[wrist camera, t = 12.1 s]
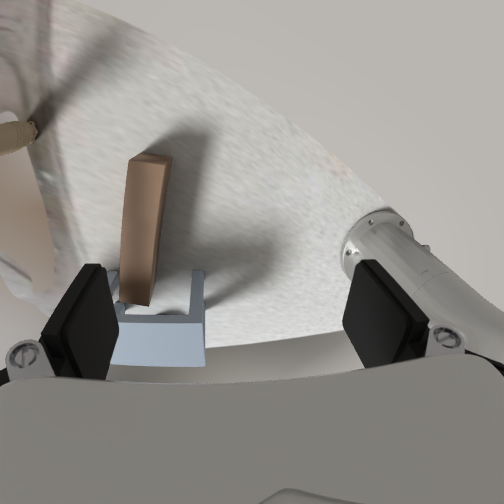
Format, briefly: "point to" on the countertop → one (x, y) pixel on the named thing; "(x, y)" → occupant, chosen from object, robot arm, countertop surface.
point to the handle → (16, 135)
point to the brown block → (142, 226)
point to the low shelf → (161, 332)
